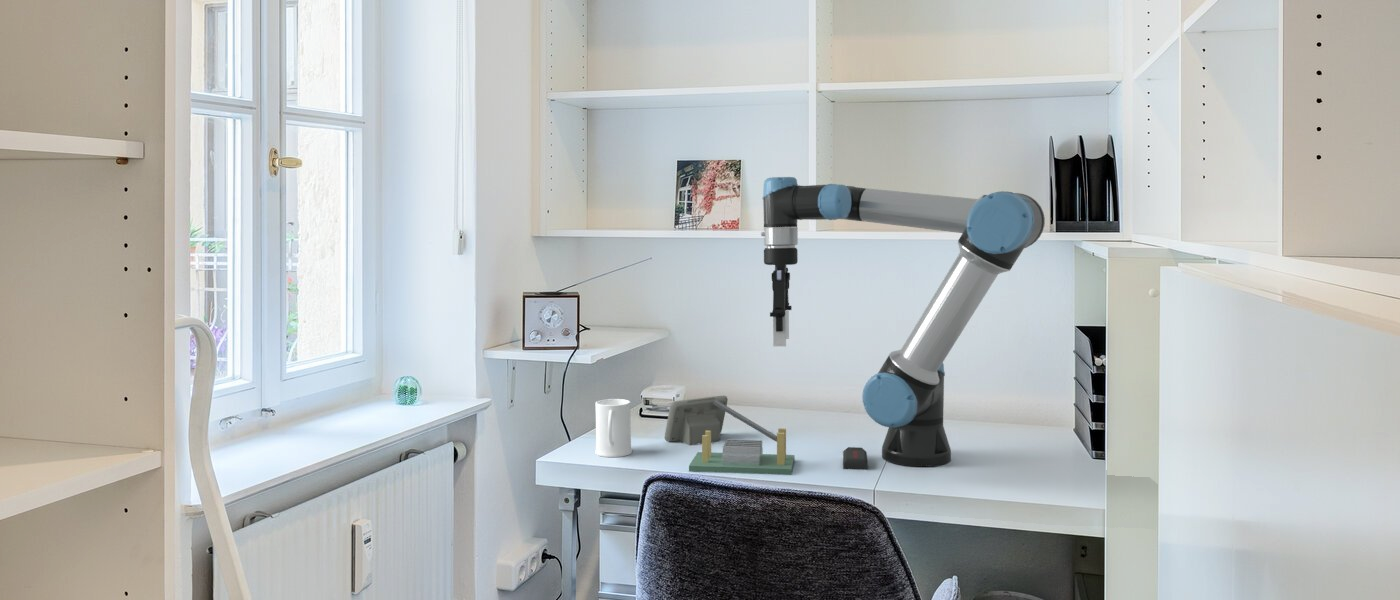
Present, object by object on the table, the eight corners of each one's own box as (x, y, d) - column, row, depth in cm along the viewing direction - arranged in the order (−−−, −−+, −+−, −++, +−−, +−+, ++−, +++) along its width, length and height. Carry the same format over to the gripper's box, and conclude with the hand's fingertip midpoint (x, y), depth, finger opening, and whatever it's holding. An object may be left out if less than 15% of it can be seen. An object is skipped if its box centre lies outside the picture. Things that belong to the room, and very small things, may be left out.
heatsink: (762, 456, 211) (762, 439, 210) (759, 465, 203) (759, 448, 202) (727, 455, 212) (726, 438, 212) (722, 464, 204) (722, 447, 204)
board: (794, 460, 212) (794, 425, 211) (791, 474, 200) (791, 437, 199) (697, 457, 215) (697, 422, 214) (689, 471, 203) (688, 434, 203)
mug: (625, 461, 212) (625, 408, 211) (588, 460, 213) (587, 408, 212) (635, 448, 224) (634, 398, 223) (599, 448, 225) (598, 398, 223)
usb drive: (843, 470, 204) (843, 458, 204) (843, 456, 216) (843, 444, 216) (867, 471, 203) (867, 458, 203) (866, 457, 215) (866, 445, 215)
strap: (782, 443, 207) (785, 439, 207) (781, 446, 204) (784, 442, 204) (714, 402, 209) (716, 398, 209) (712, 405, 206) (714, 401, 206)
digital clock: (721, 433, 239) (721, 392, 238) (734, 441, 230) (734, 398, 229) (660, 438, 234) (659, 396, 233) (670, 447, 225) (670, 403, 224)
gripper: (767, 245, 223) (768, 335, 225) (759, 248, 199) (760, 349, 201) (799, 245, 222) (800, 335, 224) (795, 248, 198) (795, 349, 200)
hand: (781, 342), depth 213 cm, fingers open, 12 cm apart
